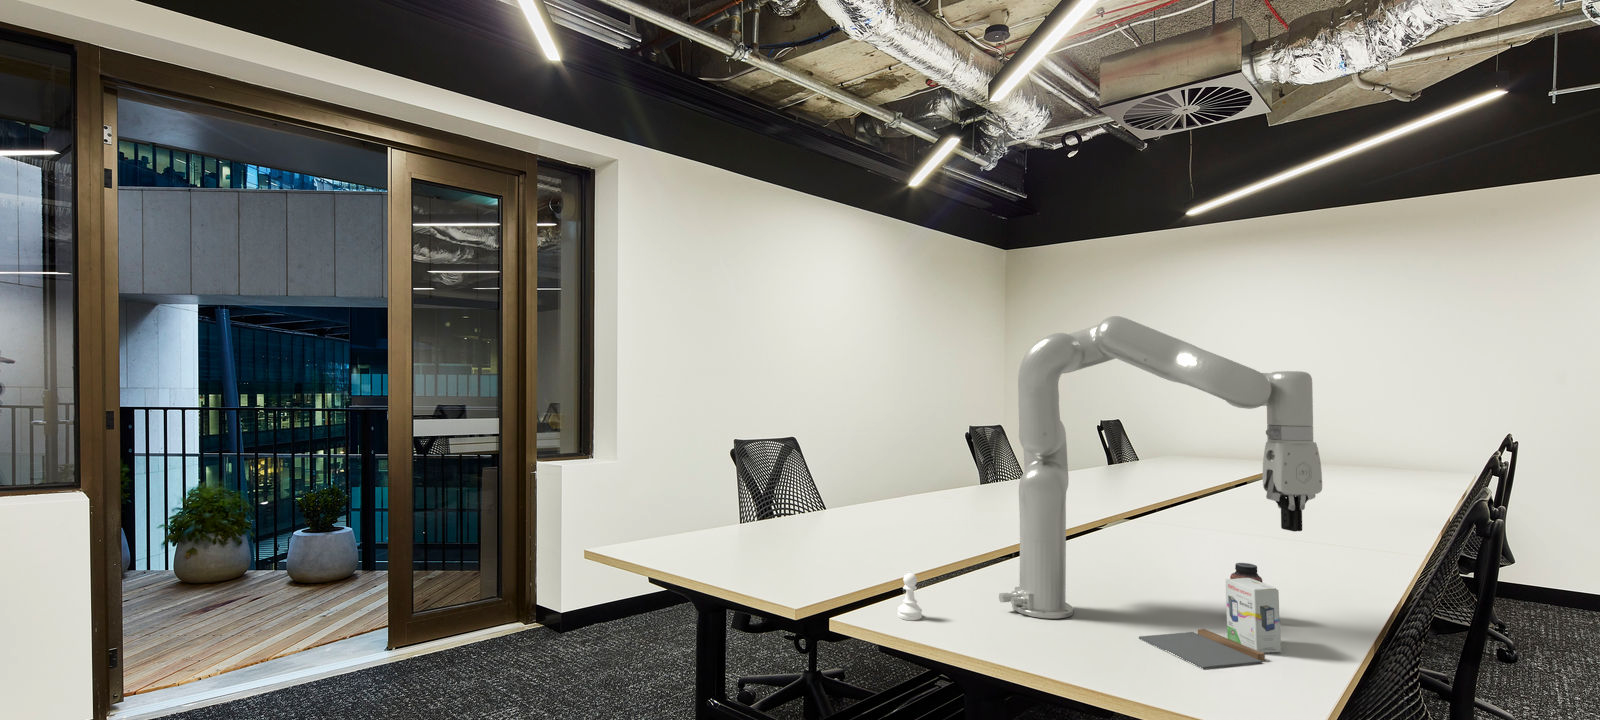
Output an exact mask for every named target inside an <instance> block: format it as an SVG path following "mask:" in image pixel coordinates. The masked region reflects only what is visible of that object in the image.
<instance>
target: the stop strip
mask: <svg viewBox="0 0 1600 720" xmlns="http://www.w3.org/2000/svg"><path fill="white" fill-rule="evenodd" d="M1197 634H1199V635H1201V636H1204V637H1206V638H1208V639H1211V640H1213V641H1216V642H1218V643H1220V644H1223V645H1225V646H1227V647H1230V648H1232V649H1235V650H1237V651H1239V652H1242V653H1244V654H1246V655H1249V656H1251V657H1253V658H1256V659H1258V660H1261V661H1262V662H1264V661H1265V659H1266V655H1265V654H1266V653H1262V652H1259V651H1257V650H1254V649H1252V648H1249V647H1247V646H1245V645H1242V644H1240V643H1237V642H1235V641H1232V640H1230V639H1228V638H1227V637H1225V636H1223V635H1221V634H1218V633H1215V632H1213V631H1210V630H1208V629H1206V628H1198V629H1197Z"/></svg>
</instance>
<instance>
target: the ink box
mask: <svg viewBox="0 0 1600 720" xmlns="http://www.w3.org/2000/svg"><path fill="white" fill-rule="evenodd" d="M1262 582H1263V581H1262ZM1262 582H1259V581H1257V580H1254V579H1251V578H1238V579H1230V578H1226V579H1225V599H1226V600H1225V601H1226V602H1225V603H1226V605H1225V607H1226V608H1225V609H1226V610H1225V611H1226V629H1227V630H1226V631H1227V632H1226V633H1227V637H1226V638H1227V639H1230V640H1232V641H1235V642H1237V643H1240V644H1242V645H1245V646H1247V647H1249V648H1252V649H1254V650H1257V651H1259V652H1262V653H1264V654H1266V653H1267V654H1268V653H1269V654H1270V653H1281V652H1282V650H1281V649H1282V648H1281V625H1280V624H1281V622H1280V621H1281V620H1280V619H1281V618H1280V598H1279V589H1277V588H1276V587H1275V586H1272V585H1270V584H1266V583H1264V582H1263V583H1262Z"/></svg>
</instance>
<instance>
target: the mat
mask: <svg viewBox="0 0 1600 720" xmlns="http://www.w3.org/2000/svg"><path fill="white" fill-rule="evenodd" d="M1138 639H1139V640H1141V639H1142V640H1141V641H1143V642H1145V641H1146V643H1147V642H1148V644H1149V643H1150V644H1149V645H1151V644H1152V645H1151V646H1153V645H1155V646H1157V647H1156V648H1158V647H1159V648H1158V649H1160V648H1161V649H1160V650H1162V649H1164V650H1167V651H1169V652H1171V653H1173V654H1175V655H1177V656H1179V657H1181V658H1183V659H1185V660H1187V661H1189V662H1191V663H1193V664H1195V665H1197V666H1199V667H1198V668H1200V667H1201V668H1200V669H1202V668H1203V669H1202V670H1207V669H1206V668H1211V669H1218V668H1219V667H1221V668H1228V667H1229V668H1231V667H1240V666H1248V665H1260V664H1262V663H1263V661H1261V660H1258V659H1256V658H1253V657H1251V656H1249V655H1246V654H1244V653H1242V652H1239V651H1237V650H1235V649H1232V648H1230V647H1227V646H1225V645H1223V644H1220V643H1218V642H1216V641H1213V640H1211V639H1208V638H1206V637H1204V636H1201V635H1199V634H1198V632H1197V633H1196V632H1194V631H1189V632H1187V631H1186V632H1178V633H1177V632H1176V633H1162V634H1152V635H1143V636H1141V635H1140V636H1138ZM1155 646H1154V647H1155ZM1164 650H1163V651H1164ZM1179 657H1178V658H1179ZM1181 658H1180V659H1181ZM1183 659H1182V660H1183ZM1185 660H1184V661H1185ZM1187 661H1186V662H1187ZM1189 662H1188V663H1189ZM1191 663H1190V664H1191ZM1193 664H1192V665H1193ZM1195 665H1194V666H1195ZM1197 666H1196V667H1197Z"/></svg>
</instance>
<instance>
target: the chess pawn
mask: <svg viewBox="0 0 1600 720" xmlns="http://www.w3.org/2000/svg"><path fill="white" fill-rule="evenodd" d="M917 578H918V577H917V576H916V574H914V573H911V572H909V573H906V574H905V575H904V576H903V578H902V579H903V584H904V586H903V587H902V588H903V590H905V591H906V592H905V598H904V599H903V600H902V602H903V603H902V604H900V605H899V606H898V608H897V618H899V619H901V620H905V621H918V620H921V619H922V618H923V613H922V611H923V609H922V608H921V607H920V606H919V604H918V600H917V599H915V592H914V591H917V589H918V587H917V586H916V585H917V582H918V579H917Z"/></svg>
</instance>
